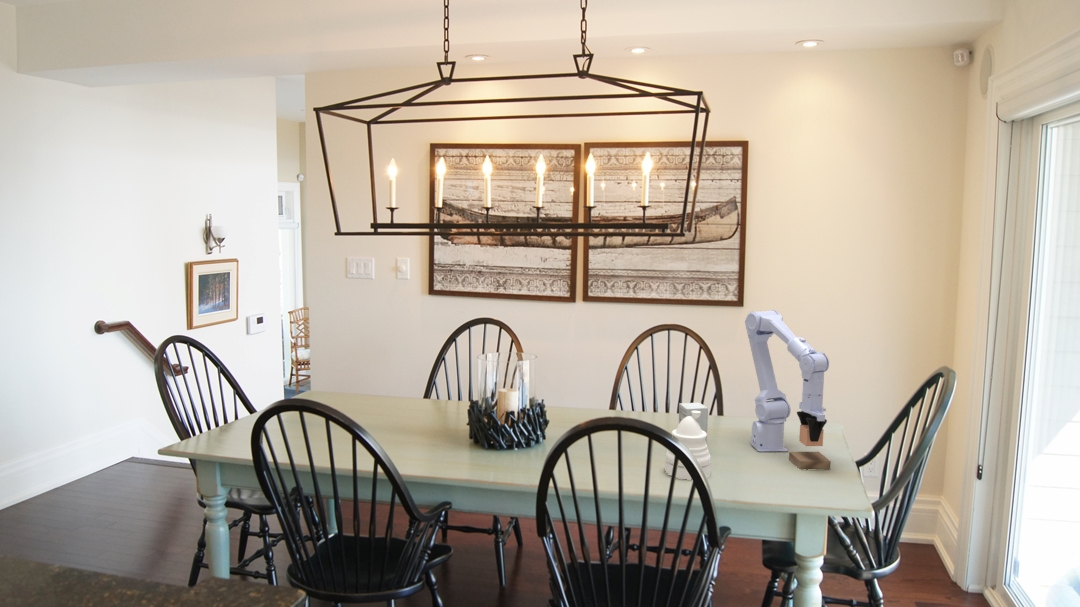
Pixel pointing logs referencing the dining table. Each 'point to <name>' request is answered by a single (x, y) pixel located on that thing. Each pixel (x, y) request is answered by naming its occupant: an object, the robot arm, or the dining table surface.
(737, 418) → the dining table surface
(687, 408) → the supplement box
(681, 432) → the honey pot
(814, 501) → the dining table surface
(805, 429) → the terracotta block
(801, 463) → the walnut base block
